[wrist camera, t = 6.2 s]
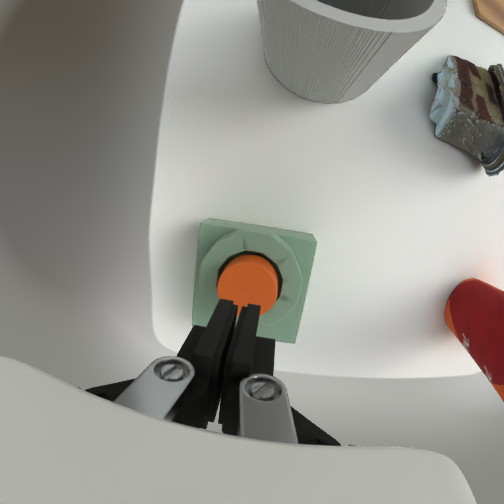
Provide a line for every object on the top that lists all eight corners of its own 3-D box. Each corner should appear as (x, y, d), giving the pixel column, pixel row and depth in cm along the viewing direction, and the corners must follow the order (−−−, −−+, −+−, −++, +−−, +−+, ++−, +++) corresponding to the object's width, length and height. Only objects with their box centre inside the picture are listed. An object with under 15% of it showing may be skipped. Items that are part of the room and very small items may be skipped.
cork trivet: (464, -26, 12) (466, -29, 11) (505, 1, 12) (508, -1, 11) (476, 16, 14) (480, 14, 13) (518, 45, 14) (522, 44, 13)
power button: (225, 250, 18) (220, 257, 17) (282, 259, 18) (282, 267, 16) (219, 301, 19) (214, 312, 18) (272, 310, 19) (272, 322, 17)
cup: (393, 93, 18) (477, 36, 7) (286, 115, 20) (293, 45, 8) (351, 5, 16) (388, -82, 5) (250, 22, 18) (226, -76, 6)
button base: (209, 214, 22) (192, 223, 18) (313, 231, 22) (321, 243, 17) (200, 311, 24) (184, 337, 20) (293, 327, 24) (295, 356, 19)
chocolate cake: (433, 31, 16) (452, 55, 10) (497, 60, 14) (542, 105, 8) (417, 110, 24) (418, 171, 18) (474, 133, 22) (493, 204, 16)
